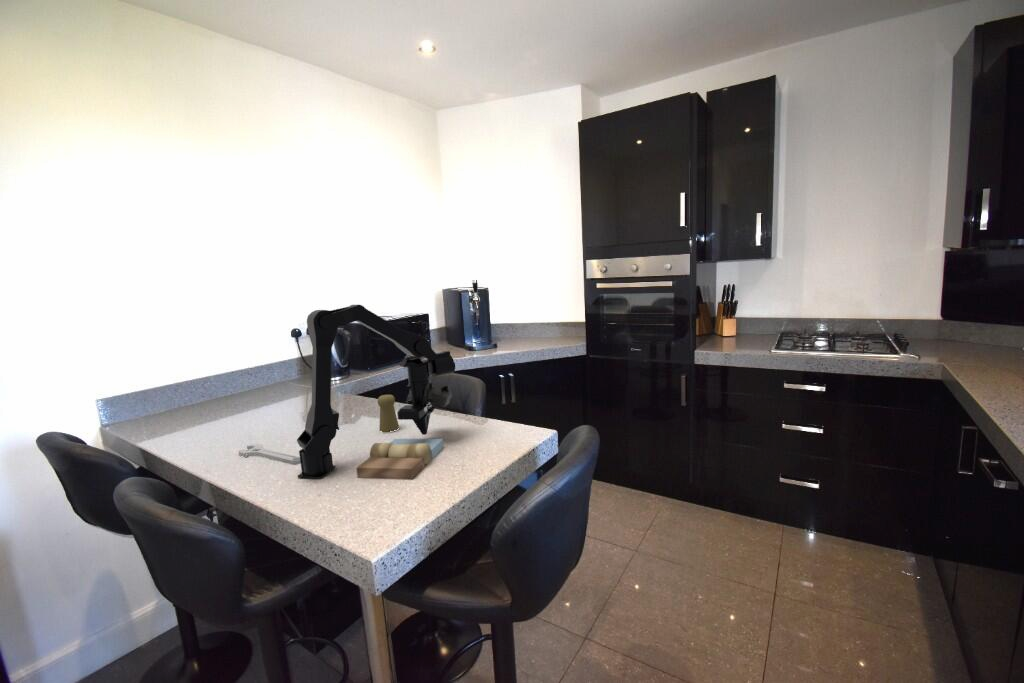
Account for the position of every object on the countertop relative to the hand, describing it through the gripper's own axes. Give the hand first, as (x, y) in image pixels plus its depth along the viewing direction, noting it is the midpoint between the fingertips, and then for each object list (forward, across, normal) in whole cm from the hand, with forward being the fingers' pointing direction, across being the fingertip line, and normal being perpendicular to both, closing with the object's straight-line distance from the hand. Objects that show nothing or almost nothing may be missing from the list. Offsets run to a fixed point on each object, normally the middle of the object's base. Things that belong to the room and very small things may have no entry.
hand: (424, 434), depth 129 cm
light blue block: (+2, -11, 0) cm, 11 cm away
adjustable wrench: (+3, -13, +40) cm, 43 cm away
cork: (+2, +10, +16) cm, 19 cm away
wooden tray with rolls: (+2, -18, 0) cm, 18 cm away
